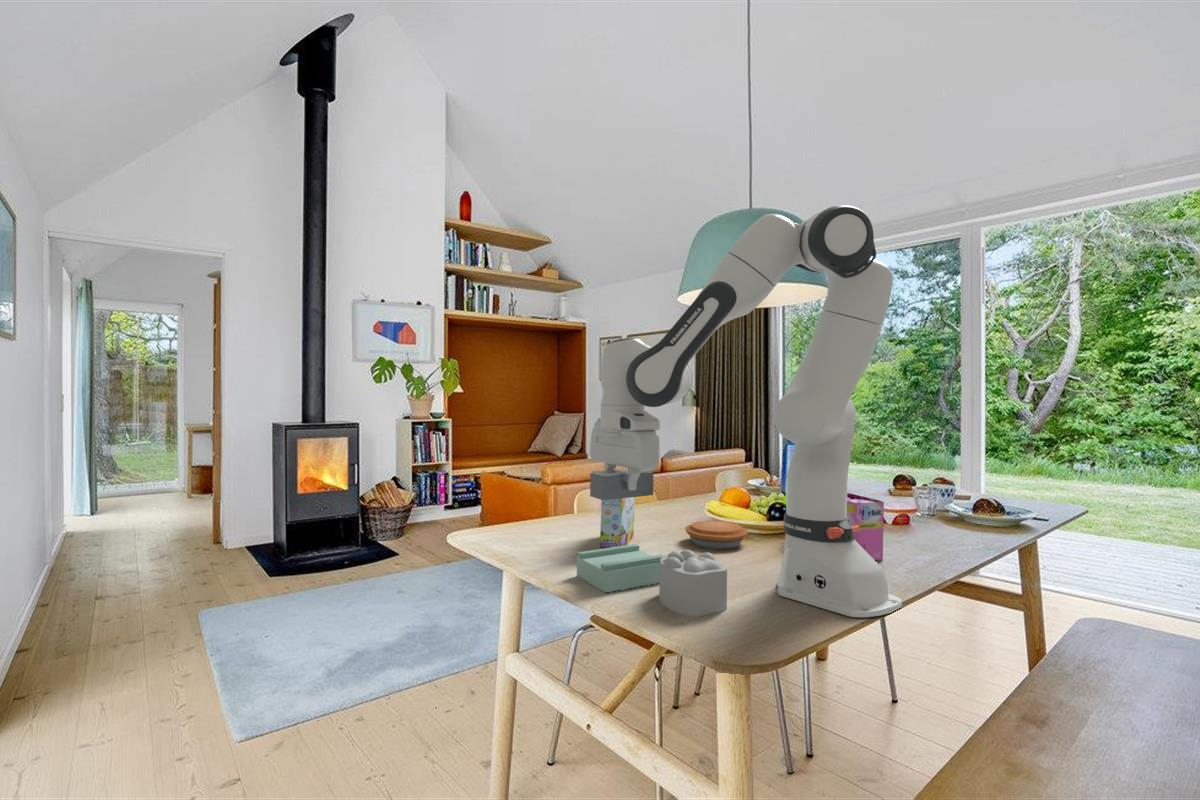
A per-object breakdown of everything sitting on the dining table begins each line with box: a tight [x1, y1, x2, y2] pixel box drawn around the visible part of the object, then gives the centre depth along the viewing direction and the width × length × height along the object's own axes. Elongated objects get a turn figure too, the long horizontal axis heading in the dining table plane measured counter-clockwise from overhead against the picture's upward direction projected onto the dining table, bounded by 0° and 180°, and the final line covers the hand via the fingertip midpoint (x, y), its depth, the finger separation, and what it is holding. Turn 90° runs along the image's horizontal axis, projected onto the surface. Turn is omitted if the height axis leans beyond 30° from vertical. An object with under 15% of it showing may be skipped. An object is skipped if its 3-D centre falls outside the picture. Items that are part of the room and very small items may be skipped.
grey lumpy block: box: [658, 549, 728, 618], centre depth 108 cm, size 10×13×9 cm
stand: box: [576, 543, 664, 594], centre depth 121 cm, size 12×14×5 cm
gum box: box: [847, 492, 885, 561], centre depth 146 cm, size 24×8×14 cm, turn 16°
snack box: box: [599, 497, 636, 549], centre depth 148 cm, size 21×6×15 cm, turn 168°
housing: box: [589, 468, 654, 500], centre depth 120 cm, size 12×5×5 cm, turn 122°
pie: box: [684, 520, 749, 550], centre depth 150 cm, size 15×16×5 cm
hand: (621, 487), depth 120 cm, fingers closed on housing, 5 cm apart
